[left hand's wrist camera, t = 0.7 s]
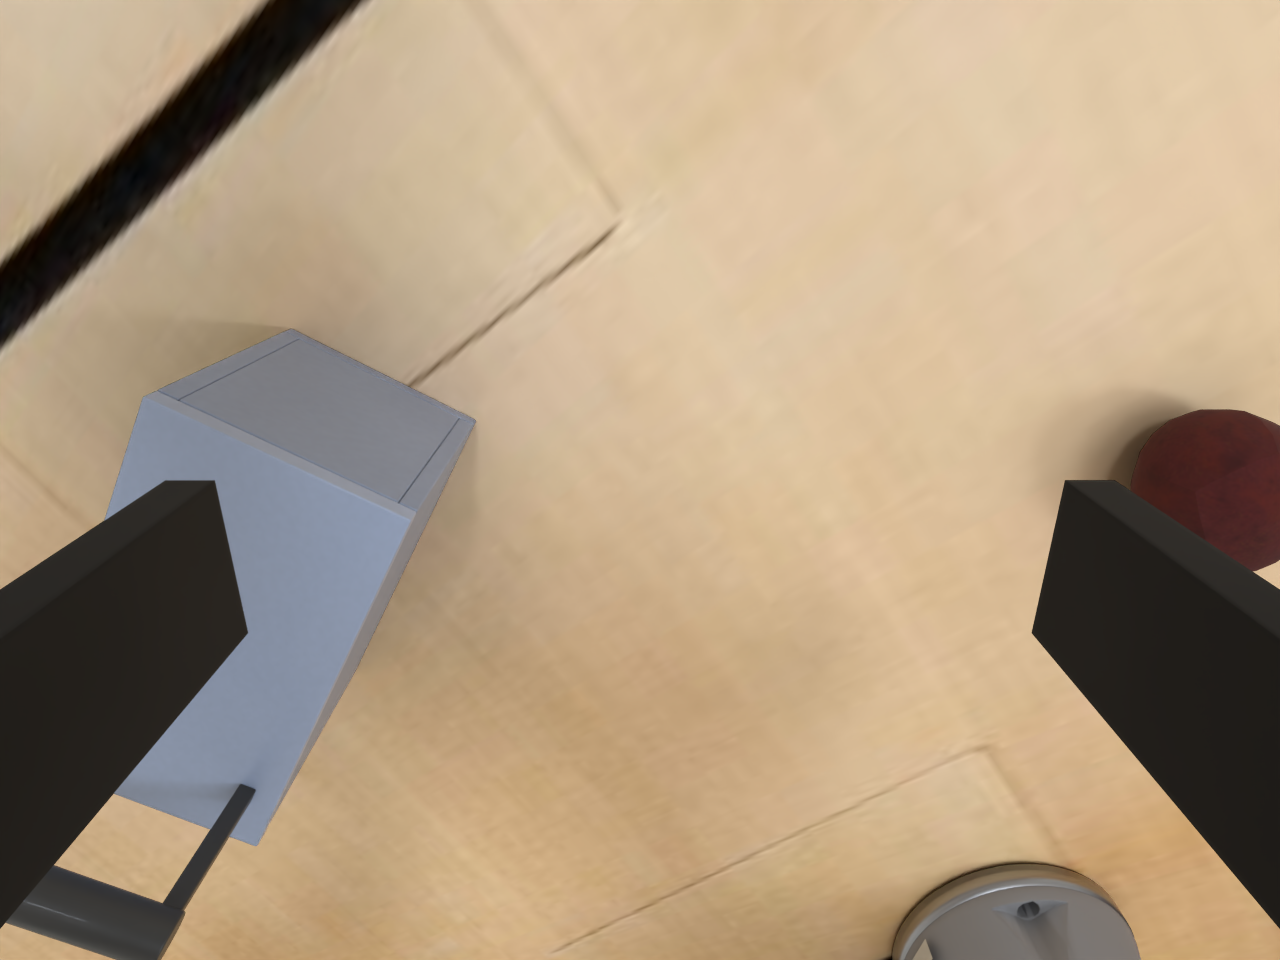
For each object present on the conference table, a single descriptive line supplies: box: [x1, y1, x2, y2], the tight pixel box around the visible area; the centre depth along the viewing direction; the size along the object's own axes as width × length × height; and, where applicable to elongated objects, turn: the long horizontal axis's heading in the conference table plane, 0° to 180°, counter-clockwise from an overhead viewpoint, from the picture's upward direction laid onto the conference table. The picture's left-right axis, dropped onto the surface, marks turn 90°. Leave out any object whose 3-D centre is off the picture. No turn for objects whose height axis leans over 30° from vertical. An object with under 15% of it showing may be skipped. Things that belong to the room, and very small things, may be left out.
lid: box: [5, 391, 416, 960], centre depth 27 cm, size 18×10×8 cm, turn 152°
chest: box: [158, 329, 476, 822], centre depth 36 cm, size 17×10×11 cm, turn 152°
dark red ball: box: [1131, 410, 1280, 571], centre depth 36 cm, size 7×8×7 cm
